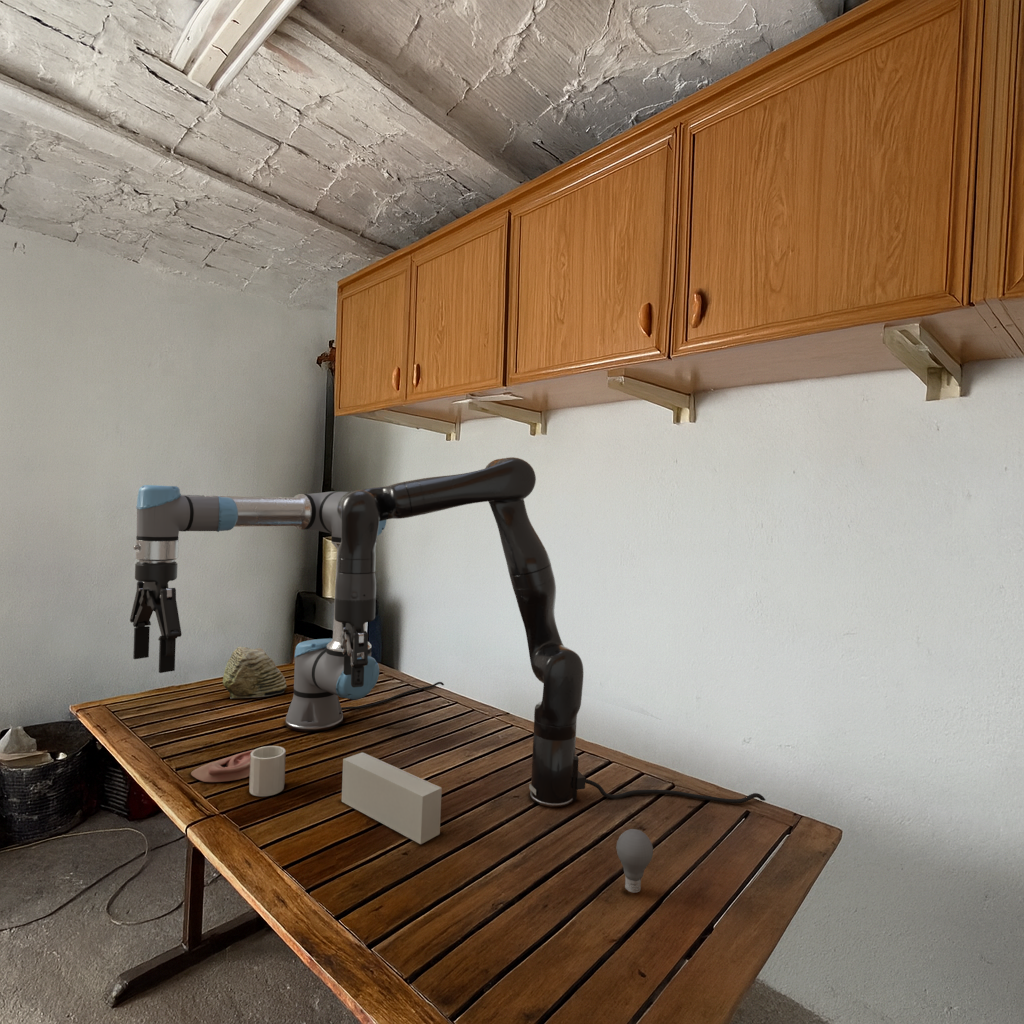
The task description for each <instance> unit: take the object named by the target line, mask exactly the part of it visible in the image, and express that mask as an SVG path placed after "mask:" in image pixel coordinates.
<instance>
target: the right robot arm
mask: <svg viewBox="0 0 1024 1024" xmlns="http://www.w3.org/2000/svg"><path fill="white" fill-rule="evenodd" d="M536 482H537V476H536V472H535V470H534V468H533V466H532V465H531V464H530V463H529V462H528V461H526V460H524V459H522V458H519V457H512V456H511V457H504V458H503V457H502V458H497V459H493V460H491V461H490V462H489V463H488V464H487V465H486V466H485V467H484V468H482V469H478V470H473V471H469V472H465V473H458V474H457V473H456V474H452V475H451V474H450V475H440V476H430V477H425V478H424V477H423V478H417V479H412V480H406V481H402V482H396V483H393V484H390V485H387V486H386V485H385V486H377V487H370V488H362V489H356V490H355V489H354V490H351V491H346V492H347V493H346V494H344V495H343V496H342V497H341V498H340V500H339V502H338V505H337V512H338V515H339V517H340V519H341V520H342V533H341V543H340V545H339V549H338V564H337V571H338V572H337V578H336V577H335V582H336V585H335V584H334V585H335V587H334V603H335V620H336V621H338V622H341V623H342V645H341V648H342V653H343V655H345V656H344V668H343V673H344V674H345V675H351V686H352V687H362V686H363V685H364V666H365V665H367V664H368V642H369V632H368V631H367V630H366V631H364V626H363V625H364V623H366V622H367V623H371V622H373V621H374V620H375V619H376V604H377V603H376V602H377V601H376V600H377V579H376V559H377V557H376V555H377V554H376V546H377V541H376V540H378V536H377V534H378V528H379V521H383V520H386V521H387V520H391V519H396V520H401V519H408V518H413V517H417V516H418V517H419V516H424V515H428V514H432V513H437V512H440V511H444V510H449V509H453V508H456V507H461V506H466V505H471V504H479V503H485V502H488V504H489V506H490V509H491V512H492V515H493V517H494V520H495V523H496V526H497V529H498V533H499V538H500V542H501V546H502V551H503V555H504V559H505V562H506V566H507V572H508V575H509V579H510V583H511V586H512V590H513V593H514V596H515V600H516V604H517V607H518V610H519V614H520V617H521V620H522V623H523V627H524V630H525V635H526V642H527V649H528V657H529V661H530V666H531V670H532V673H533V674H534V676H535V678H536V679H537V680H538V681H539V682H541V683H542V684H543V686H542V687H543V688H542V699H541V701H539V702H537V703H536V704H535V706H534V712H533V713H534V714H533V715H534V716H533V737H532V760H531V761H532V762H531V781H530V782H531V783H529V784H528V785H529V786H528V789H529V790H530V795H529V796H530V799H531V800H532V801H533V802H534V803H535V804H538V805H540V806H543V807H547V808H562V807H566V806H569V805H571V804H572V803H573V802H577V801H578V791H579V790H585V789H586V784H587V785H590V786H593V787H594V788H596V789H597V790H598V791H599V792H600V794H601V795H602V796H603V797H604V798H606V799H608V800H609V799H610V800H617V799H618V800H619V799H624V798H626V797H630V796H634V795H635V796H636V795H670V796H679V797H685V798H691V799H696V800H702V801H710V802H714V803H715V802H716V803H722V804H733V805H734V804H736V805H737V804H738V805H739V804H744V803H747V802H749V801H751V800H753V799H755V798H758V799H759V800H760V801H764V802H766V798H765V796H763V795H762V794H760V793H757V792H753V793H750V794H748V795H747V796H745V797H741V798H725V797H724V798H723V797H716V796H711V795H703V794H696V793H692V792H691V793H690V792H685V791H678V790H673V789H672V790H671V789H670V790H669V789H633V790H628V791H624V792H622V793H617V794H611V793H608V792H606V791H605V789H604V788H603V787H602V786H601V785H600V784H599V783H597V782H596V781H593V780H591V779H588V778H586V776H585V775H584V774H583V773H581V772H580V770H579V756H578V755H577V754H576V743H577V742H576V741H577V720H578V719H577V718H578V713H579V711H580V709H581V706H582V701H583V700H582V697H583V690H584V689H583V687H584V675H585V674H584V665H583V660H582V658H581V657H580V655H579V654H578V653H577V652H576V651H574V650H572V649H570V648H568V647H567V646H565V645H564V644H563V641H562V639H561V635H560V632H559V629H558V627H557V622H556V617H555V608H556V598H557V585H556V579H555V575H554V571H553V566H552V562H551V559H550V557H549V553H548V551H547V549H546V547H545V545H544V544H543V542H542V539H541V538H540V537H539V535H538V533H537V532H536V530H535V527H534V526H533V524H532V522H531V521H530V518H529V515H528V512H527V506H526V504H525V499H526V498H527V497H529V496H530V495H531V494H532V493H533V491H534V489H535V487H536ZM358 655H360V656H361V659H357V656H358ZM746 797H747V798H746Z"/></svg>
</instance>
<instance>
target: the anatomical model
mask: <svg viewBox="0 0 1024 1024" xmlns="http://www.w3.org/2000/svg"><path fill="white" fill-rule="evenodd" d="M253 750H254V749H251V750H247V751H243V752H240V753H236V754H234V755H231V756H228V757H225V758H222V759H219V760H216V761H211V762H209V763H206V764H204V765H201V766H198V767H197V768H195V769H193V770H192V771H191V773H190V775H191V776H192V777H193V778H194V779H196V780H198V781H201V782H203V783H221V782H230V781H231V782H233V781H237V780H241V779H246V778H248V777H250V753H251V752H252V751H253Z"/></svg>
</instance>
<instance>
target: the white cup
mask: <svg viewBox="0 0 1024 1024" xmlns="http://www.w3.org/2000/svg"><path fill="white" fill-rule="evenodd" d="M252 750H253V751H252V752H251V753H250V776H248V777H249V780H248V781H249V782H248V788H249V789H248V791H249V794H250V795H252V796H255V797H270V796H274V795H275V796H276V795H277V794H279V793H281V792H282V791H284V789H285V784H286V783H285V781H286V758H287V757H286V756H287V755H286V752H287V751H286V748H284V747H283V746H279V745H265V746H261V747H257V748H255V749H252Z"/></svg>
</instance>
